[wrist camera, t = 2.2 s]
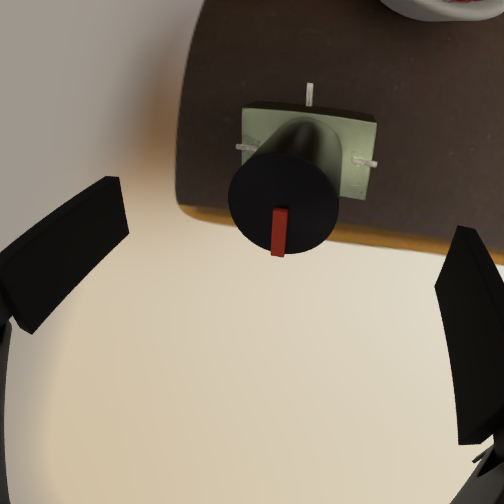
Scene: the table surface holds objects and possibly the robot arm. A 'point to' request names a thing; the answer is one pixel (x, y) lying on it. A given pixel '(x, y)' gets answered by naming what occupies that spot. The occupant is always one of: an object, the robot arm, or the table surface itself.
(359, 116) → the program panel
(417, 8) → the cup
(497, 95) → the table surface
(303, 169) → the dial
